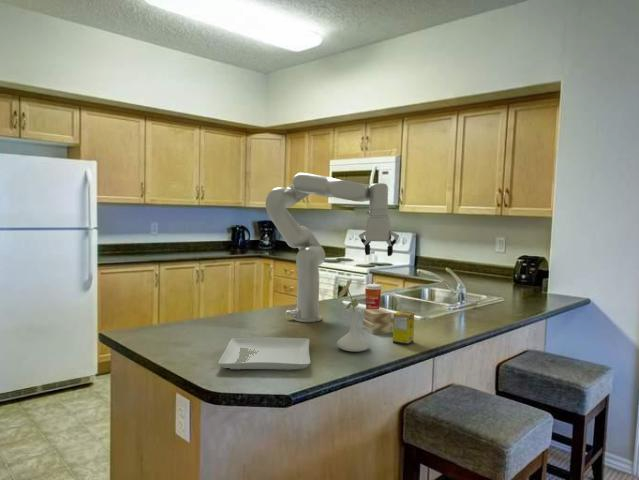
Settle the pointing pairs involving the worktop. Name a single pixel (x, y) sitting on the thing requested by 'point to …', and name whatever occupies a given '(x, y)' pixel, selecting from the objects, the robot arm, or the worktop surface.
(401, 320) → the supplement box
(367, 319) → the maple top block
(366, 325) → the birch base block
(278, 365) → the square plate
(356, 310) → the flower in vase
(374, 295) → the paper cup
